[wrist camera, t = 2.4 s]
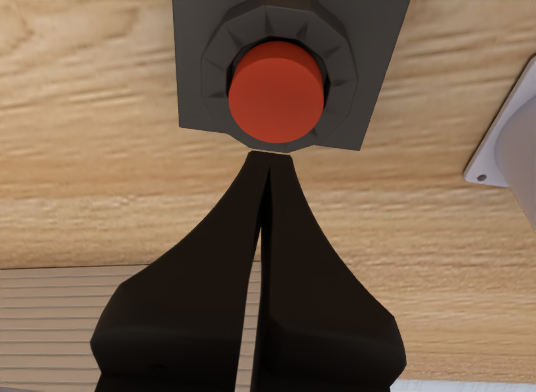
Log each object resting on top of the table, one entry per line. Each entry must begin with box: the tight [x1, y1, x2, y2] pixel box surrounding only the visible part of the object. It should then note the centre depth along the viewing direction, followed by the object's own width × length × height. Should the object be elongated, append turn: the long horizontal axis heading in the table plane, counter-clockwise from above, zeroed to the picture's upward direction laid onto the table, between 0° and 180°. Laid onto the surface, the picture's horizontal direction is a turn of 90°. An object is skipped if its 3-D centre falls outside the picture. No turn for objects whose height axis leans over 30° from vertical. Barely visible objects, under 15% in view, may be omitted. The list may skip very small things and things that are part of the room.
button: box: [229, 41, 324, 143], centre depth 17 cm, size 4×4×2 cm
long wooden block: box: [0, 262, 261, 392], centre depth 33 cm, size 32×11×11 cm, turn 98°
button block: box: [172, 0, 410, 153], centre depth 19 cm, size 10×8×4 cm
